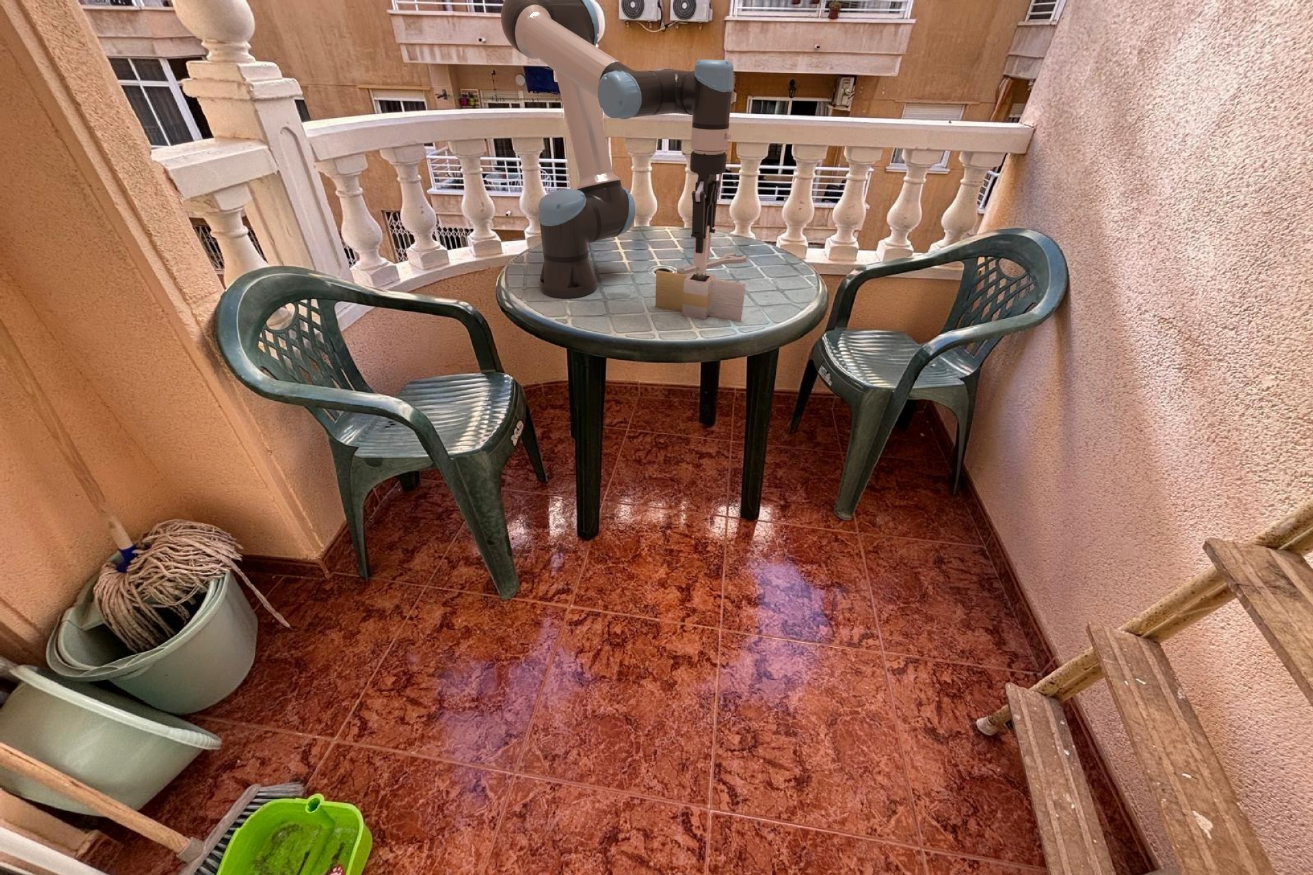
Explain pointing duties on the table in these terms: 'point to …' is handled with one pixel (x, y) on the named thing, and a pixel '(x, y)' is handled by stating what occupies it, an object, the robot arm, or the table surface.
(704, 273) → the hinge pin
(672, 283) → the hinge
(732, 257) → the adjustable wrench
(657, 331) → the table surface
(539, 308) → the table surface
